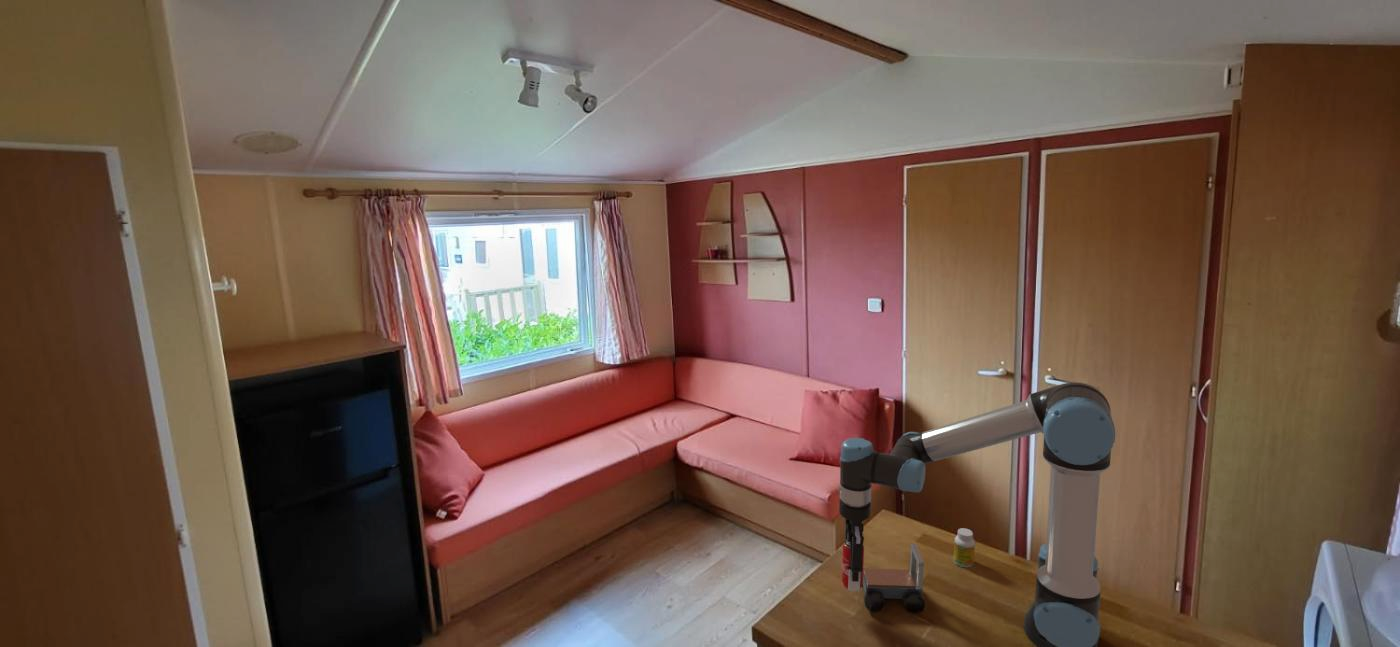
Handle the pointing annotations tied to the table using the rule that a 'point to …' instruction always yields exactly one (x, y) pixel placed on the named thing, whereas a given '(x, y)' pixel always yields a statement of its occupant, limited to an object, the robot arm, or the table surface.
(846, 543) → the beverage can
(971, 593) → the table surface
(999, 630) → the table surface
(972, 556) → the supplement bottle
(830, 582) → the table surface
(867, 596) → the trolley
